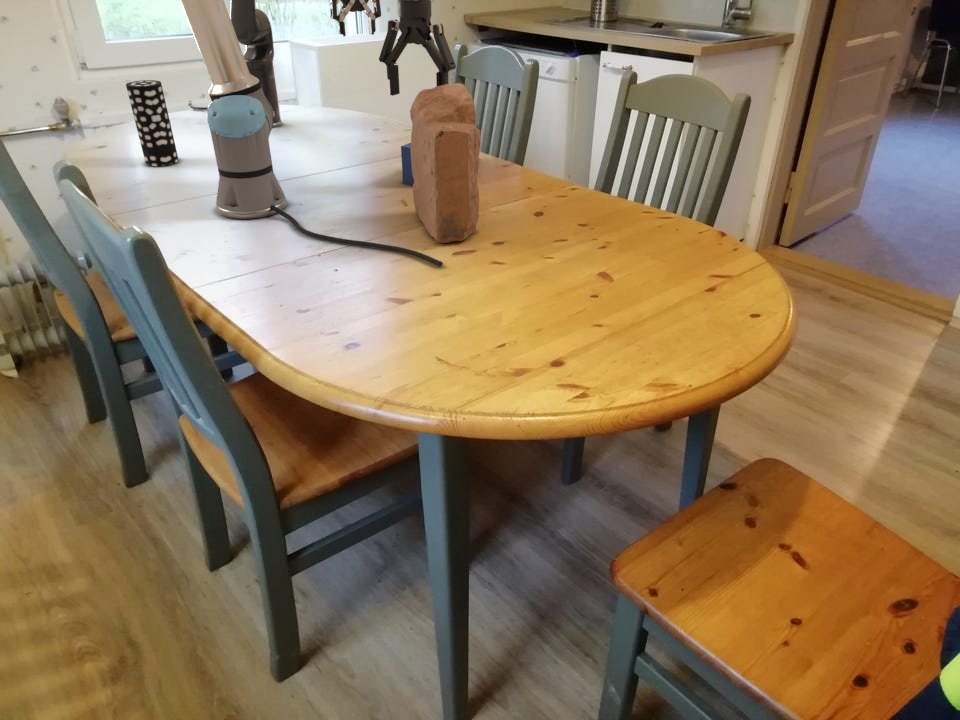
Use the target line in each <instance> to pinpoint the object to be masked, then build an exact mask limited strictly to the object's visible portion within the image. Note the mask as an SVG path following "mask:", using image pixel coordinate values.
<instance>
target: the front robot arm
mask: <svg viewBox="0 0 960 720" xmlns="http://www.w3.org/2000/svg"><path fill="white" fill-rule="evenodd" d="M179 1H180V4H181V6H182V8H183V12H184V15H185V16H186V17H185V18H186V19H187V22H188V25H189V27H190V30H191V32H192V35H193V38H194V40H195V42H196V45H197V48H198V50H199V53H200V55H201V58H202V60H203V64H204V66H205V68H206V71H207V75H208V76H209V78H210V82H211V85H210V88H209V90H208V95H209V99H210V101H211V102H210V103H209V104H208V106H207V107H208V108H207V110H206V111H207V112H206V113H207V118H206V119H207V124H208V127H209V131H210V136H211V141H212V147H213V151H214V156H215V160H216V166H217V169H218V170H217V172H218V185H217V193H216V201H215V206H216V210H217V213H218V214H219V215H221V216H223V217H225V218H229V219H236V220H253V219H260V218H261V219H262V218H265V217H266V218H267V217H270V216H274V215H276V214H278V215H280V216H282V217H283V218H284V219H286V220H288V222H291V224H292V225H293V226H294V227H295V229H296V230H297V231H298V232H300V233H301V234H303V235H306V236H309V237H311V238H315V239H319V240H323V241H328V242H331V243H332V242H333V243H337V244H345V245H351V246H357V247H358V246H359V247H366V248H373V249H379V250H385V251H392V252H398V253H402V254H406V255H410V256H414V257H416V258H419V259H422V260H424V261H426V262H429V263H431V264H433V265H435V266H438V267H442V266H443V264H444V262H443V261H441V260H438V259H436V258H433V257H432V256H430V255H427V254H425V253H423V252H419V251H416V250H413V249H409V248H405V247H402V246H401V247H400V246H397V245H396V246H395V245H390V244H382V243H376V242H371V241H364V240H363V241H362V240H355V239H348V238H340V237H335V236H331V235H326V234H322V233H321V234H320V233H318V232H317V233H316V232H314V231H310V230H308V229H305V228H304V227H302V226H301V225H300V224H299V223H298V221H297V220H296V219H295V218H294V217H293V216H292V215H290V214H288V213H287V212H285V211H284V210H285V209H286V207H287V199H286V194H285V193H284V191H283V189H282V187H281V184H280V182H279V180H278V179H277V177H276V175H275V172H274V167H273V160H272V154H271V147H270V140H269V139H270V135H271V132H272V130H273V128H274V127H273V123H274V119H273V118H274V115H273V110H272V107H271V105H270V103H269V101H268V100H267V99H266V97H265V96H264V93H263V90H262V87H261V85H260V82H259V79H258V78H256V77H254V76H253V75H251V74H250V73H249V70H248V68H247V65H246V62H245V59H244V56H243V55H244V52H243V51H242V48H241V44H240V43H239V42H238V39H237V36H236V34H235V31H234V28H233V25H232V22H231V19H230V13H229V12H228V9H227V6H226V2H225V0H179ZM397 16H398V17H399V20H398V19H390V20H388V21H387V31H386V35H385V38H384V41H383V45H382V47H381V51H380V54H379V57H378V61H379V62H380V63H383V64H385V66H386V78H387V80H389V93H390V94H389V95H390V96H396V95H400V94H401V93H400V92H401V91H400V73H399V65H398V64H397V61H398V60H399V58H400V56H401V55H402V53H403V52H404V50H405V49H406V47H407V45H408V44H409V45H411V44H414V45H419V46H420V45H421V47H422V48H424V49H425V51H426V52H427V54H428V55H429V57H430V58H431V61H432V62H433V63H434V65H435V66H436V68H437V69H438V71H437V72H436V73H435V75H436V76H435V77H436V79H435V80H436V87H437V86H441V85H445V84H449V72H450V71H452V70H455V69H456V68H457V64H456V62H455V60H454V56H453V54H452V52H451V50H450V49H451V48H450V46H449V44H448V41H447V38H446V36H445V30H444V25H443V23H435V24H432V22H431V18H432V0H397ZM399 31H400V35H399V37H398V38H397V36H398V33H399ZM431 34H432V35H433V36H432V35H431ZM396 40H397V42H396ZM395 42H396V43H395Z"/></svg>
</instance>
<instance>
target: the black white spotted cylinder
mask: <svg viewBox="0 0 960 720" xmlns="http://www.w3.org/2000/svg"><path fill="white" fill-rule="evenodd" d="M125 87H126V91H127V95H128V99H129V103H130V107H131V110H132V115H133V118H134V122H135V123H134V124H135V127H136V130H137V134H138V139H139V143H140V146H141V150H142V155H143V158H144V163H145V164H146V165H147V166H151V167H164V166H170V165H174V164H176V163H178V162H179V155H178V150H177V146H176V142H175V137H174V133H173V128H172V125H171V121H170V116H169V111H168V107H167V103H166V98H165V93H164V89H163V84H162V81H161V80H155V79H154V80H153V79H151V80H150V79H145V80H144V79H141V80H134V81H130V82H129V81H128V82H127V83H126V84H125Z"/></svg>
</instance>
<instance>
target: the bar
mask: <svg viewBox="0 0 960 720" xmlns="http://www.w3.org/2000/svg"><path fill="white" fill-rule="evenodd" d="M476 127H477V129H478V130H479V124H476ZM400 155H401V156H400V157H401V173H402V175H401V177H402V184H404V185H408V186H413V184H414V178H413V175H412V163H411V142H408V143H405V144H403V145H400Z"/></svg>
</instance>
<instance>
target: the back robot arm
mask: <svg viewBox="0 0 960 720" xmlns="http://www.w3.org/2000/svg"><path fill="white" fill-rule="evenodd" d="M369 1H370V2H371V3H372V7H373V12H372V9H371V8H370V6H369V5H368V3H369ZM328 2H329V17H330V19H331V20H335V21H336V22H337V29H338V30H337V32H338V34H339V35H340V36H341V37H346V24H345V21H344V20H345V18H346V17H347V16H348V15H349V13H355V12H360V13H361V12H363V13H364V14H365V15H366V16H367V18H368V19H367V22H368V24H367V25H368V33H369V35H374V34H375V33H376V31H377V30H376V28H377V27H376V20H377V19H378V18H381V17H382V10H381V0H329V1H328ZM339 2H341V4H342V5H341V8H340V9H339V12H338V4H339ZM229 9H230V10H229V11H230V13H229V17H230V19H231V22H232V25H233V28H234V31H235V34H236V36H237V39H238V42H239V44H240V45H243V46H245V50H244V52H243V56H244V59H245V62H246V65H247V68H248V70H249V73H250V74H251V75H253V76H254V77H256V78H258V79H259V82H260V85H261V87H262V90H263V93H264V96H265V97H266V99H267V100H268V101H269V103H270V105H271V107H272V110H273V115H274V118H273V119H274V123H273V127H272V128H276V127H280V126H281V125H282V119H281V118H282V117H281V111H280V105H279V97H278V89H277V82H276V76H275V68H274V58H275V48H274V38H273V36H274V35H273V29H272V25H271V21H270V18H269V17H268V15H267V14H266V13H265V12H264V11H263V10H262V9H260V8H256V0H230V7H229ZM187 103H188V104H187V105H188V106H189V107H190V108H191V109H192V110H196V111H207V108H208V106H207V107H201V106H194V105H192V101H191V100H189V101H188V102H187Z"/></svg>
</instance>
